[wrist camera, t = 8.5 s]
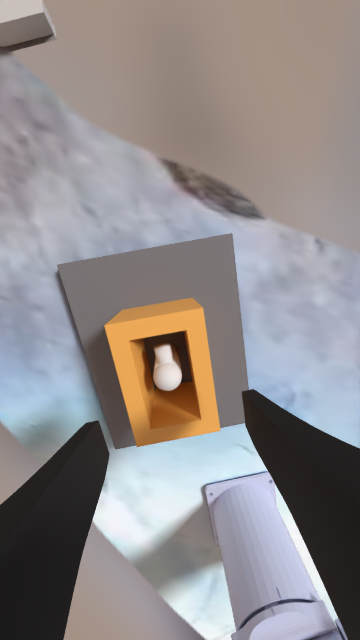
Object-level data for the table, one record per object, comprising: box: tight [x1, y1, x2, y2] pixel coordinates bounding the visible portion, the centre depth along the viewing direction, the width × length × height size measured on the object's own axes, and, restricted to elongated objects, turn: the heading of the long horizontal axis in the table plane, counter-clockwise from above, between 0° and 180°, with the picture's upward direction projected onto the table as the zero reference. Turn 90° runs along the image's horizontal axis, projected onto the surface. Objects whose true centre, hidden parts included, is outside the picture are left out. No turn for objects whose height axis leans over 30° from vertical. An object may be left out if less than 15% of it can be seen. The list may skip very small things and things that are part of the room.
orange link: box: [104, 298, 220, 447], centre depth 16 cm, size 9×6×5 cm, turn 10°
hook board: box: [57, 233, 249, 449], centre depth 16 cm, size 18×14×6 cm
